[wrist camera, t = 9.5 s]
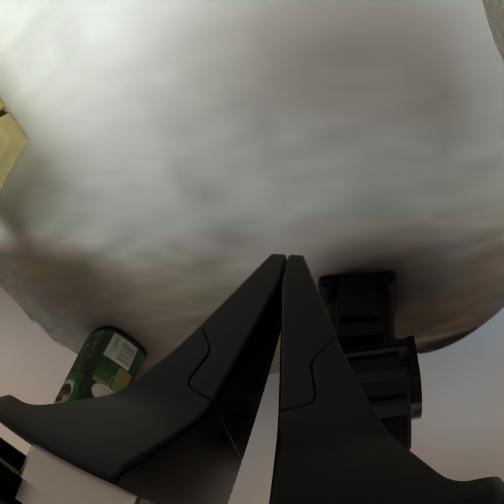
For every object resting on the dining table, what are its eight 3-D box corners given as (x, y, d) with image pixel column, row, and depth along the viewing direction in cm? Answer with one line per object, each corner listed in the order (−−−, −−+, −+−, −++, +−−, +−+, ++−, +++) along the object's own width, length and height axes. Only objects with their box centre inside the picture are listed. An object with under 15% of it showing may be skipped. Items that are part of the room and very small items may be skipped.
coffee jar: (122, 364, 46) (76, 465, 32) (83, 333, 43) (28, 437, 29) (157, 356, 41) (107, 478, 27) (113, 320, 38) (48, 447, 24)
